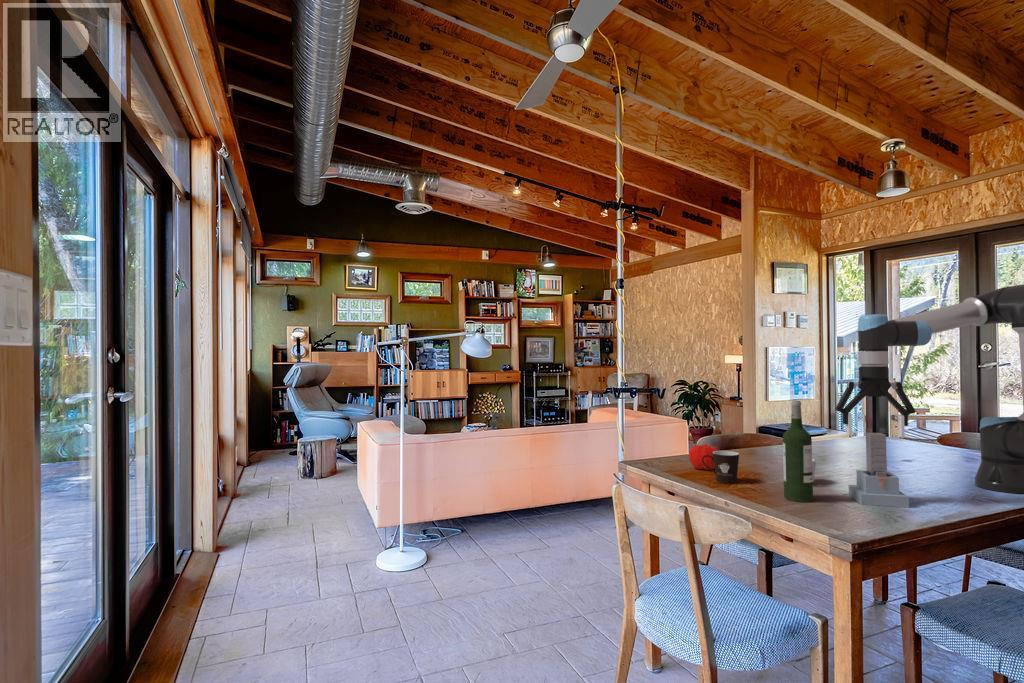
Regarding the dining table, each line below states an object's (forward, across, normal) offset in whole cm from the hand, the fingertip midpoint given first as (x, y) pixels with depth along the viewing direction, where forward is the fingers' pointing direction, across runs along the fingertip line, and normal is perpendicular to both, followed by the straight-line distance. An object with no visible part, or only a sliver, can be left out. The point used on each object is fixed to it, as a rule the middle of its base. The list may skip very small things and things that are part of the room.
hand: (874, 436), depth 161 cm
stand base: (+19, 0, 0) cm, 19 cm away
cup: (+20, +16, -18) cm, 31 cm away
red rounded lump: (+20, +47, -35) cm, 62 cm away
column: (+19, 0, 0) cm, 19 cm away
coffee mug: (+20, +42, -15) cm, 49 cm away
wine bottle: (+20, +22, +4) cm, 30 cm away
